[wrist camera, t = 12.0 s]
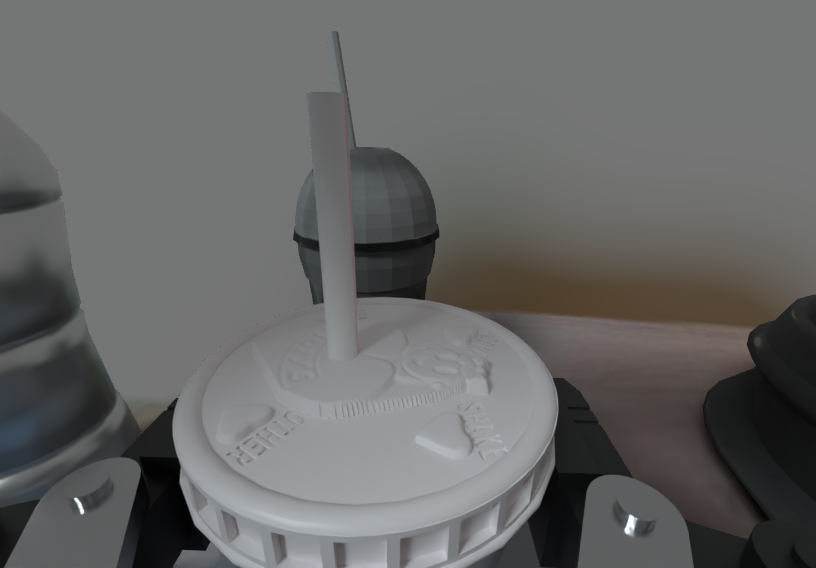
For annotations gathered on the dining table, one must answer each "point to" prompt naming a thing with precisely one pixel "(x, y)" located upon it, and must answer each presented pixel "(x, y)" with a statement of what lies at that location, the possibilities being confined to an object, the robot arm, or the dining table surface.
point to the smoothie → (364, 418)
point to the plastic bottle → (46, 338)
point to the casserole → (773, 417)
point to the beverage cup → (375, 217)
